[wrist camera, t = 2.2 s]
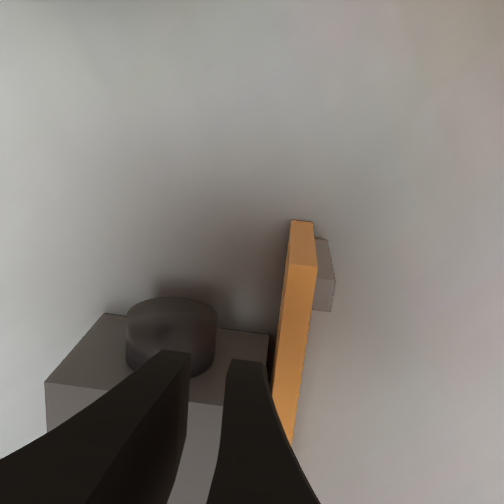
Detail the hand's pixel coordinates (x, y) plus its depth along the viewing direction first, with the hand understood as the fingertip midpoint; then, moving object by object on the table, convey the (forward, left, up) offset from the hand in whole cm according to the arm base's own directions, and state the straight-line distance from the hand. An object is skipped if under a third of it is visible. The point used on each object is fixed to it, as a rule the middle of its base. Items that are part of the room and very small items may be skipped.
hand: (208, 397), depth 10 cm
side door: (-6, -2, -9) cm, 11 cm away
